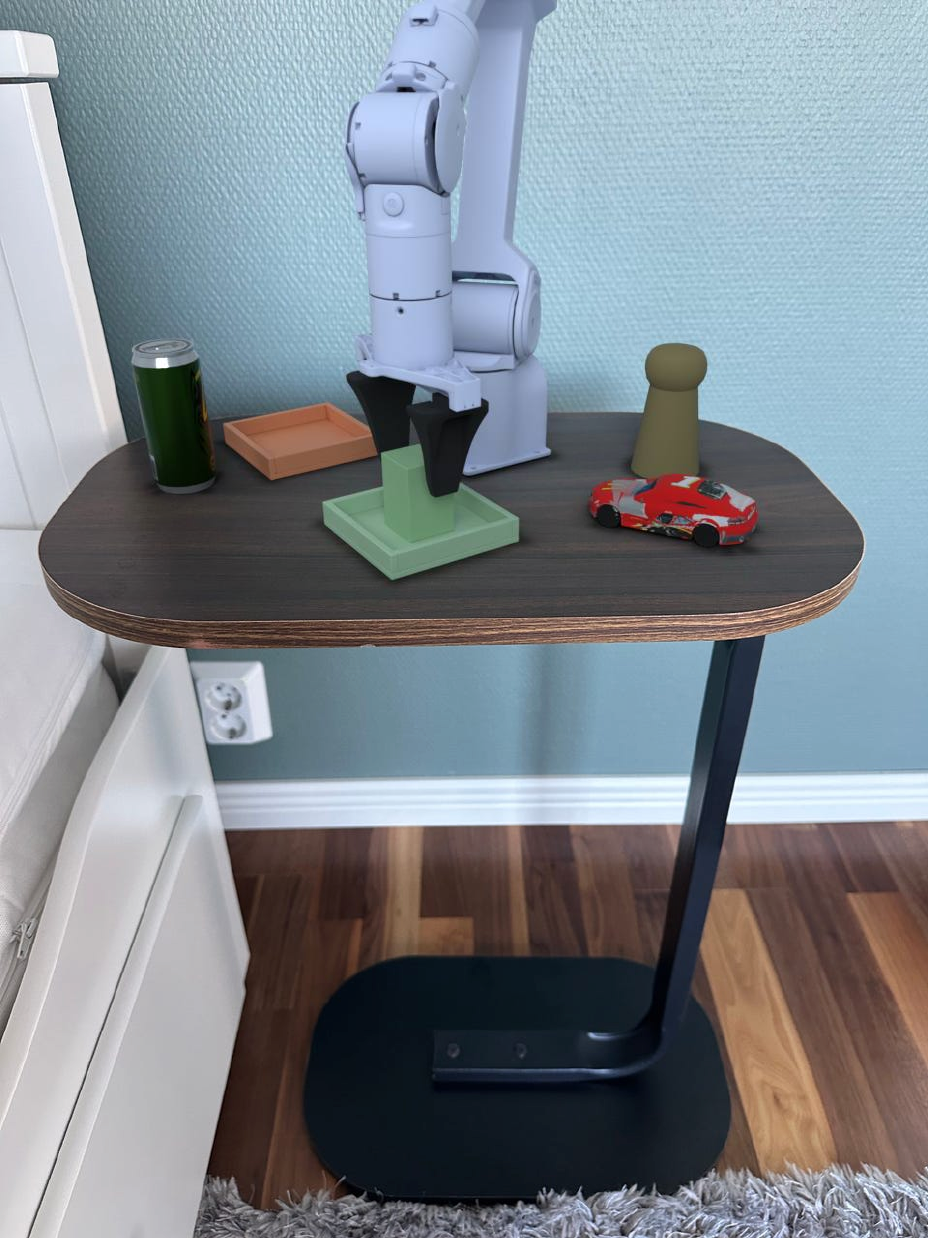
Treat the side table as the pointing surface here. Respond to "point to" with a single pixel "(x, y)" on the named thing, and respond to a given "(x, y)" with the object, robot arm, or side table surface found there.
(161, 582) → the side table surface
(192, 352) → the beer can
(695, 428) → the olive pawn piece
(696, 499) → the race car
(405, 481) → the sage block
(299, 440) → the terracotta tray
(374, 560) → the sage tray
